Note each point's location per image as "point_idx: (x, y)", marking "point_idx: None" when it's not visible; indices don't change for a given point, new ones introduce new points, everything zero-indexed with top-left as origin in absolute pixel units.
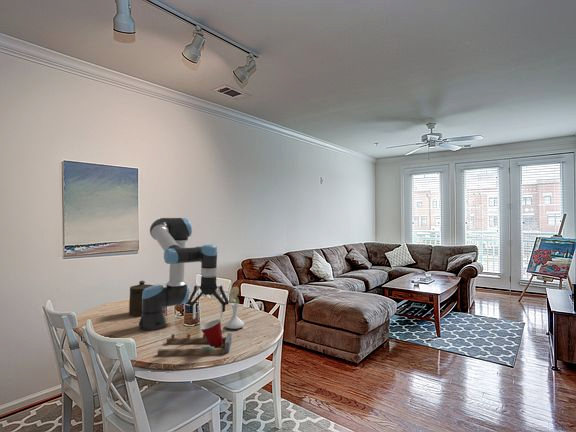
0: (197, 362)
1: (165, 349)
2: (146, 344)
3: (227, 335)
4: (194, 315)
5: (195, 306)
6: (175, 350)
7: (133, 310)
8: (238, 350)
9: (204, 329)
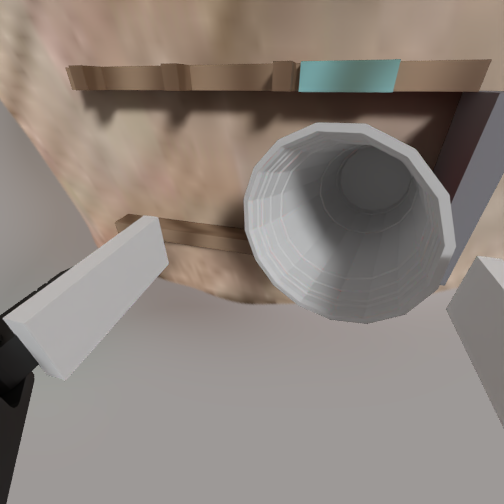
0: (284, 301)
1: None
2: (16, 91)
3: (475, 161)
4: (148, 281)
5: (57, 306)
6: (181, 243)
7: None
8: (495, 233)
9: (283, 285)
